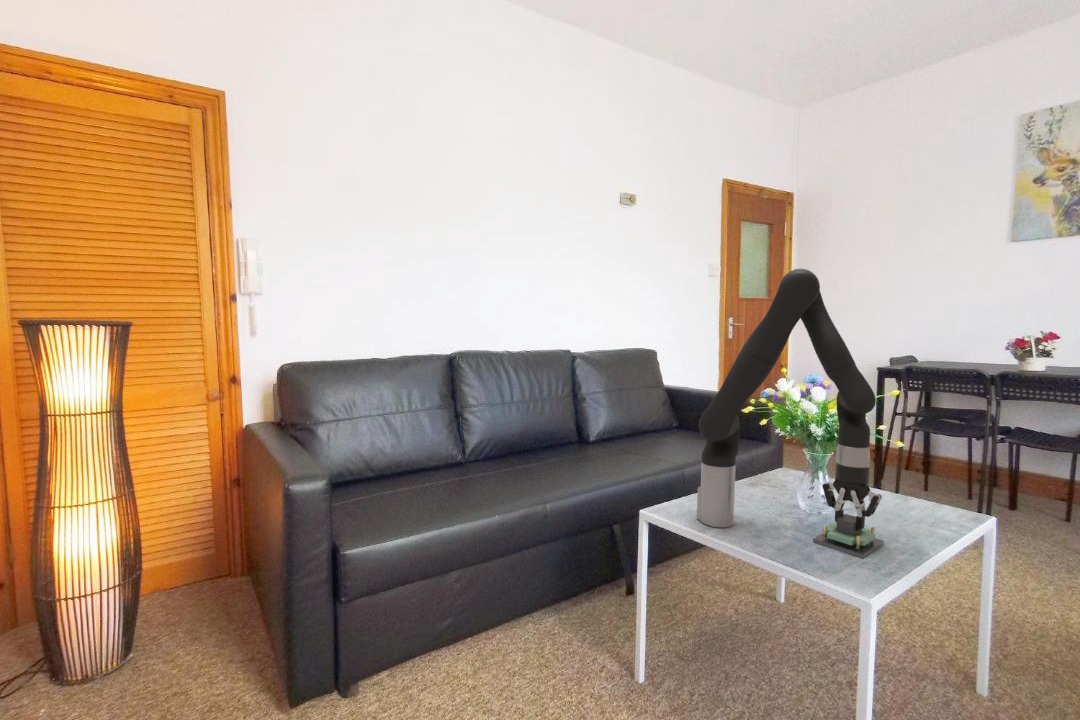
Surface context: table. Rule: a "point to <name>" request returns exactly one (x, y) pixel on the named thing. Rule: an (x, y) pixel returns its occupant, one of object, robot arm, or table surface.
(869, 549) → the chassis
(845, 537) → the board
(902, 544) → the table surface
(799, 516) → the table surface
